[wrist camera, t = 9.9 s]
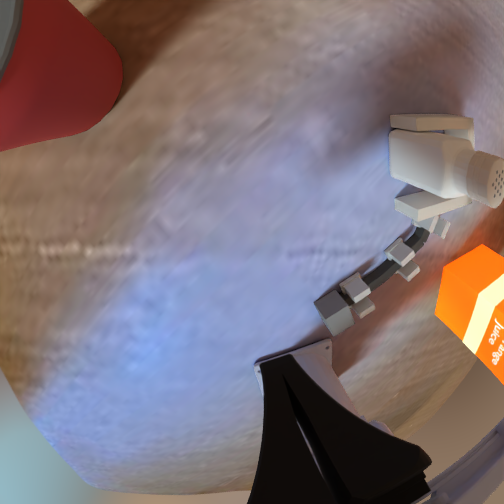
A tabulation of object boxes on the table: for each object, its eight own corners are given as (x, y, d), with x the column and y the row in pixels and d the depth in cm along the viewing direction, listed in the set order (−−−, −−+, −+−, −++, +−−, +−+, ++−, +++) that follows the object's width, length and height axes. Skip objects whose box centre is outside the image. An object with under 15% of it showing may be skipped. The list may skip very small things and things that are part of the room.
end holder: (450, 193, 23) (471, 203, 20) (394, 209, 22) (417, 221, 19) (449, 114, 19) (473, 117, 16) (389, 114, 18) (415, 117, 15)
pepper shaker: (386, 177, 20) (479, 220, 12) (385, 128, 18) (486, 150, 10) (419, 173, 21) (506, 210, 13) (419, 128, 19) (512, 151, 11)
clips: (440, 223, 24) (455, 232, 22) (352, 312, 26) (364, 326, 24) (428, 192, 22) (445, 200, 20) (332, 289, 24) (344, 304, 22)
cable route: (439, 217, 24) (456, 226, 21) (324, 323, 25) (336, 339, 23) (432, 194, 22) (450, 202, 20) (309, 306, 24) (320, 323, 22)
